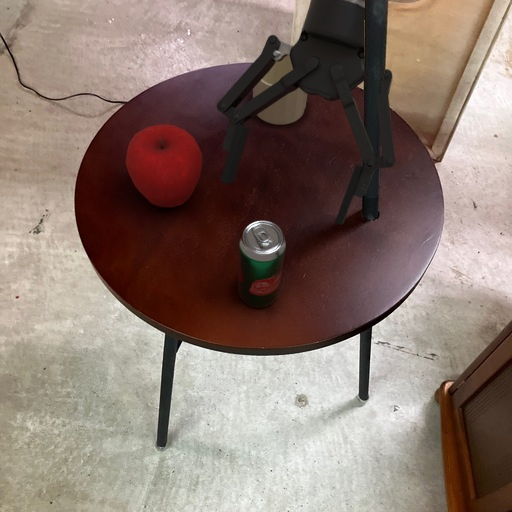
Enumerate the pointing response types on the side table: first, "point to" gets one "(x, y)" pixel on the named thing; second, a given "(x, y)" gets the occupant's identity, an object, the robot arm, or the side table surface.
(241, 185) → the side table surface
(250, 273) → the soda can
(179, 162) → the apple
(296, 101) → the cup
